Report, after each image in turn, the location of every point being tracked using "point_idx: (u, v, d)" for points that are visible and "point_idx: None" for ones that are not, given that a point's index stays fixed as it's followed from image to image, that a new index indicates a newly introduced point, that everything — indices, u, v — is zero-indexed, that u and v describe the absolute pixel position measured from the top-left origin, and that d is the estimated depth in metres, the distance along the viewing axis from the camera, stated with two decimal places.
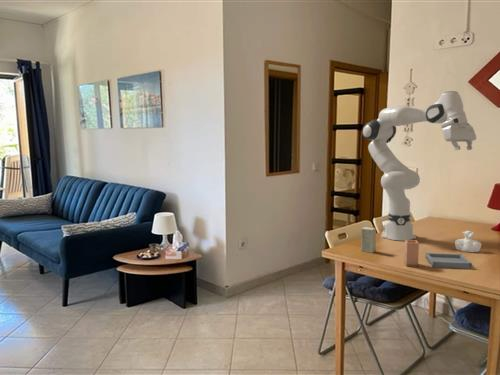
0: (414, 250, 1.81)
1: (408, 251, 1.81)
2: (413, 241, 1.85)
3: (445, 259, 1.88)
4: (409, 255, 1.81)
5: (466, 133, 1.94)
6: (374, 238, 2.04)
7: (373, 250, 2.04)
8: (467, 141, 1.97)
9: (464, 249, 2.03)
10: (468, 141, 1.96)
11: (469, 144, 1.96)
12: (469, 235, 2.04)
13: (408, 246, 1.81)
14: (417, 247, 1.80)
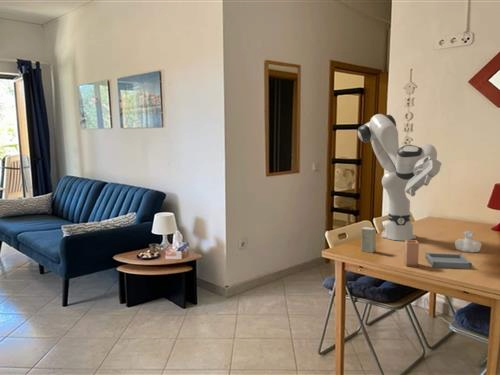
0: (414, 250, 1.81)
1: (408, 251, 1.81)
2: (413, 241, 1.85)
3: (445, 259, 1.88)
4: (409, 255, 1.81)
5: None
6: (374, 238, 2.04)
7: (373, 250, 2.04)
8: (412, 188, 1.87)
9: (464, 249, 2.03)
10: (413, 189, 1.87)
11: (412, 192, 1.86)
12: (469, 235, 2.04)
13: (408, 246, 1.81)
14: (417, 247, 1.80)
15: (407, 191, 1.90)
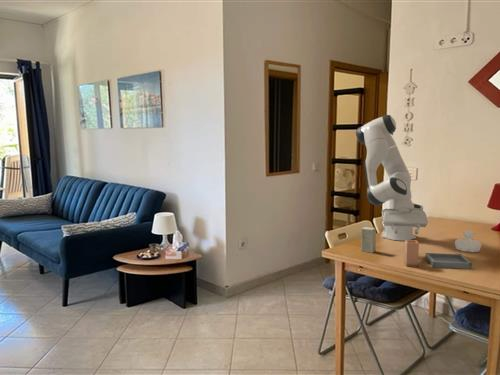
0: (414, 250, 1.81)
1: (408, 251, 1.81)
2: (413, 241, 1.85)
3: (445, 259, 1.88)
4: (409, 255, 1.81)
5: None
6: (374, 238, 2.04)
7: (373, 250, 2.04)
8: (394, 224, 1.94)
9: (464, 249, 2.03)
10: (394, 225, 1.94)
11: None
12: (469, 235, 2.04)
13: (408, 246, 1.81)
14: (417, 247, 1.80)
15: (387, 223, 1.94)
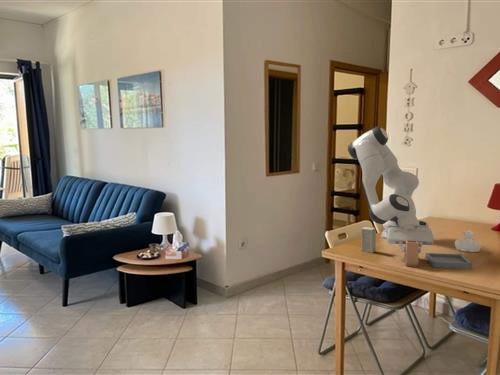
0: (414, 250, 1.81)
1: (408, 251, 1.81)
2: None
3: (445, 259, 1.88)
4: (409, 255, 1.81)
5: None
6: (374, 238, 2.04)
7: (373, 250, 2.04)
8: None
9: (464, 249, 2.03)
10: None
11: None
12: (469, 235, 2.04)
13: (408, 246, 1.81)
14: (417, 247, 1.80)
15: (391, 241, 1.86)
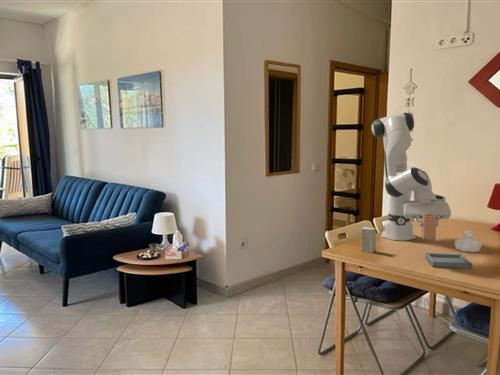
0: (432, 223, 1.80)
1: (426, 225, 1.80)
2: (430, 215, 1.84)
3: (445, 259, 1.88)
4: (426, 228, 1.81)
5: None
6: (374, 238, 2.04)
7: (373, 250, 2.04)
8: None
9: (464, 249, 2.03)
10: None
11: None
12: (469, 235, 2.04)
13: (425, 219, 1.80)
14: (434, 220, 1.79)
15: (408, 215, 1.86)
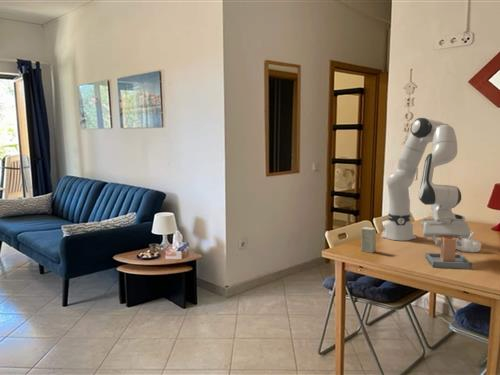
0: (452, 246, 1.82)
1: (445, 248, 1.83)
2: (449, 237, 1.86)
3: None
4: (446, 251, 1.83)
5: None
6: (374, 238, 2.04)
7: (373, 250, 2.04)
8: None
9: (464, 249, 2.03)
10: None
11: None
12: None
13: (445, 242, 1.83)
14: (454, 243, 1.82)
15: (428, 234, 1.88)
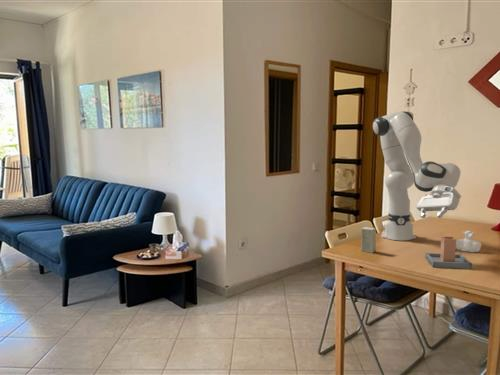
0: (452, 246, 1.82)
1: (445, 248, 1.83)
2: (449, 237, 1.86)
3: None
4: (446, 251, 1.83)
5: None
6: (374, 238, 2.04)
7: (373, 250, 2.04)
8: (424, 209, 1.91)
9: (464, 249, 2.03)
10: (425, 210, 1.92)
11: (423, 213, 1.91)
12: (469, 235, 2.04)
13: (445, 242, 1.83)
14: (454, 243, 1.82)
15: (418, 208, 1.94)
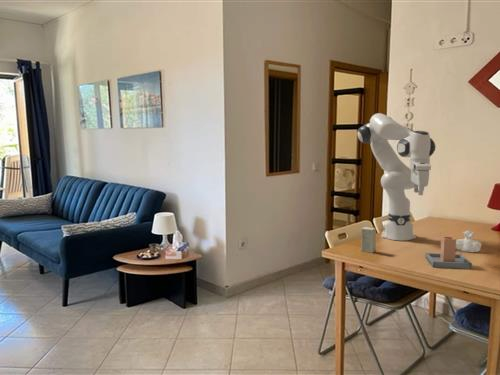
0: (452, 246, 1.82)
1: (445, 248, 1.83)
2: (449, 237, 1.86)
3: None
4: (446, 251, 1.83)
5: None
6: (374, 238, 2.04)
7: (373, 250, 2.04)
8: (415, 183, 1.98)
9: (464, 249, 2.03)
10: (416, 183, 1.98)
11: (416, 186, 1.98)
12: (469, 235, 2.04)
13: (445, 242, 1.83)
14: (454, 243, 1.82)
15: (412, 182, 2.01)
